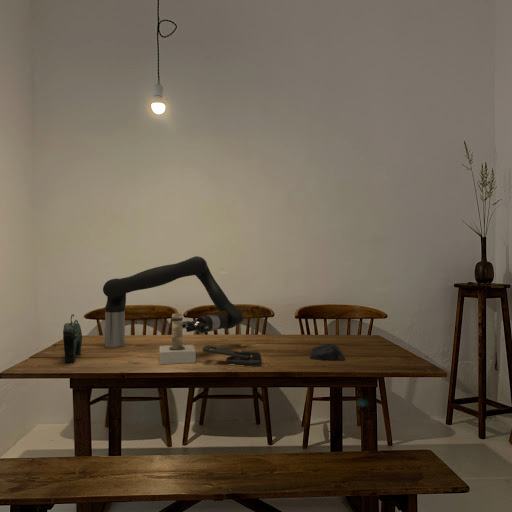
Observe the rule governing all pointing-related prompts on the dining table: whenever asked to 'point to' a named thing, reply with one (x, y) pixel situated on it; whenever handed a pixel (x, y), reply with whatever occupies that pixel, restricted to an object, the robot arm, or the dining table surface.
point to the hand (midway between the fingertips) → (180, 328)
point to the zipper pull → (237, 356)
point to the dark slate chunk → (327, 353)
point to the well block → (177, 355)
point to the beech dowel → (177, 331)
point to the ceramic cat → (72, 340)
